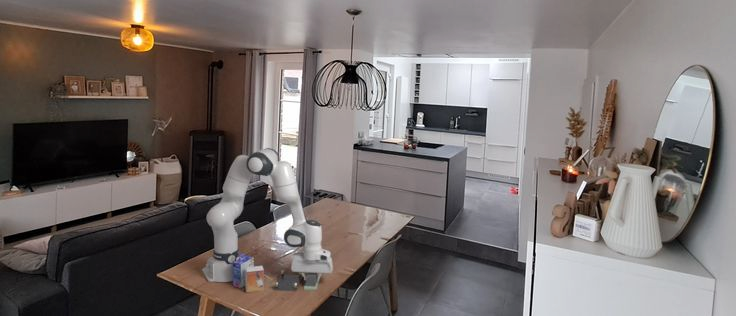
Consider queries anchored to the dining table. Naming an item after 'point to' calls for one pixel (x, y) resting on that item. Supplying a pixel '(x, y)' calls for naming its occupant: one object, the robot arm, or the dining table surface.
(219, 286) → the dining table surface
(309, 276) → the circuit board
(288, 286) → the chassis plate
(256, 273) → the small box
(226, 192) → the robot arm
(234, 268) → the ink cartridge box
